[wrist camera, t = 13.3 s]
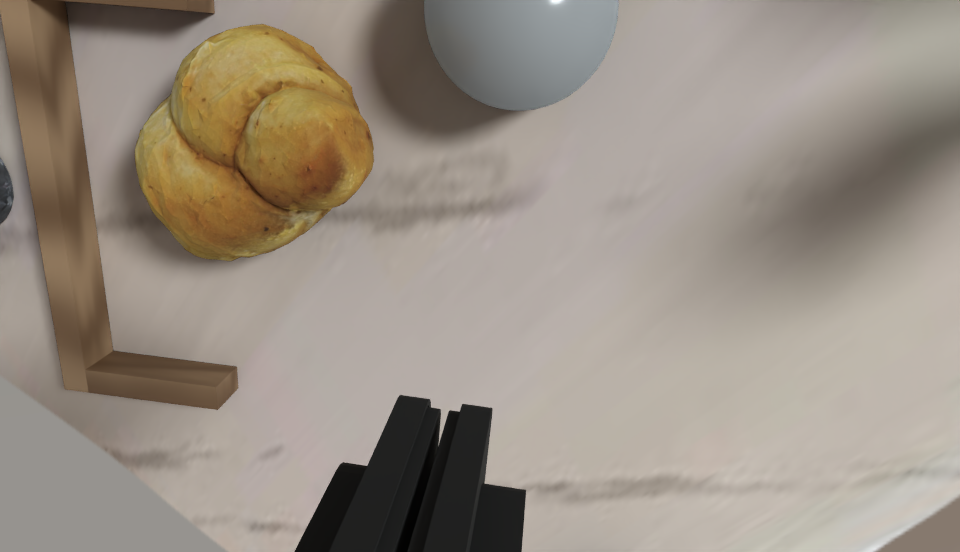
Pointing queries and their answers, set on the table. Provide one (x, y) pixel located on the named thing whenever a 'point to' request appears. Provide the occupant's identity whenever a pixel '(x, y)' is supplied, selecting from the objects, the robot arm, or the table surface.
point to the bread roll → (251, 145)
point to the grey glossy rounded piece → (520, 47)
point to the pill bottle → (5, 192)
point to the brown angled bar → (84, 216)
